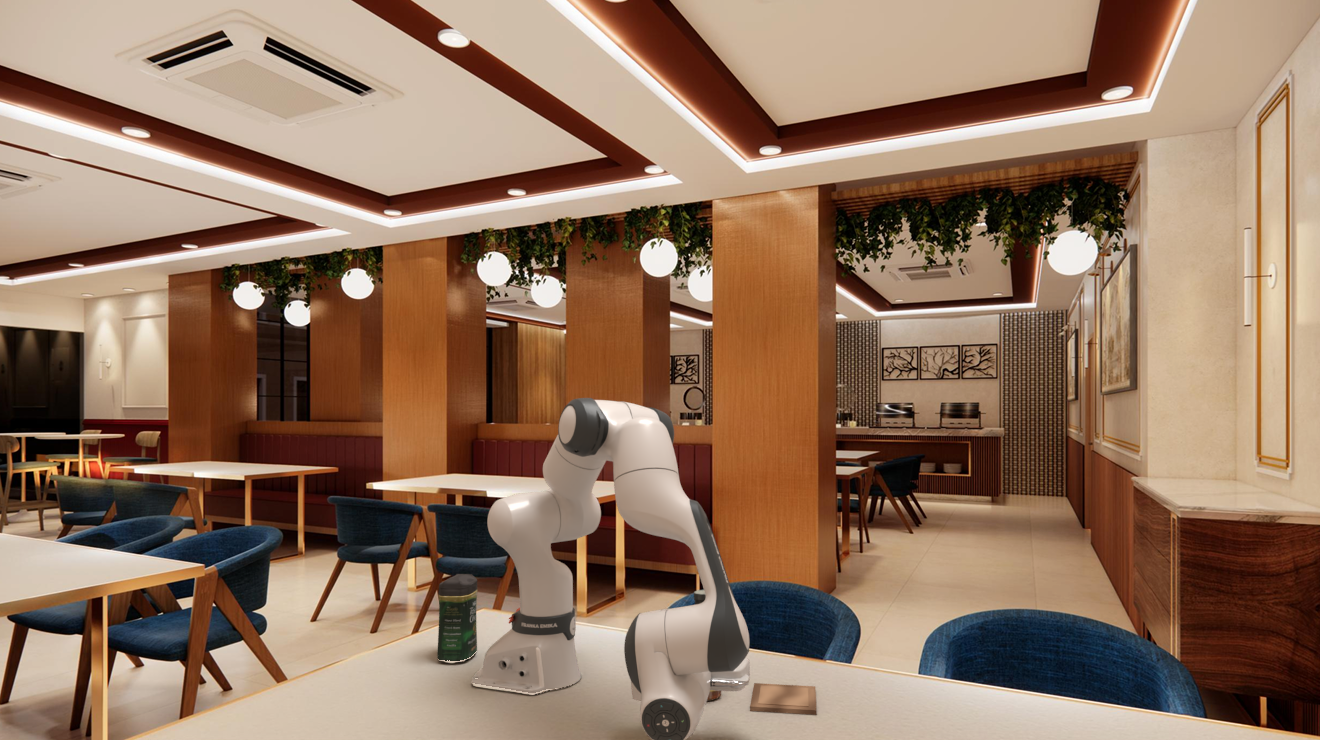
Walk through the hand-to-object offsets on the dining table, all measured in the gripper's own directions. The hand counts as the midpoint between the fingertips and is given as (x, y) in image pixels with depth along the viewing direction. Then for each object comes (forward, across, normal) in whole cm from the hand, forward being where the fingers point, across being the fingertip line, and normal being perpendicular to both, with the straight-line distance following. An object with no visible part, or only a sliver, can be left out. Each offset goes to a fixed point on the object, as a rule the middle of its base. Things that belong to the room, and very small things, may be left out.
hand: (695, 654), depth 131 cm
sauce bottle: (+12, 0, +12) cm, 17 cm away
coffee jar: (+26, +59, +12) cm, 65 cm away
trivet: (+12, -15, +12) cm, 22 cm away
